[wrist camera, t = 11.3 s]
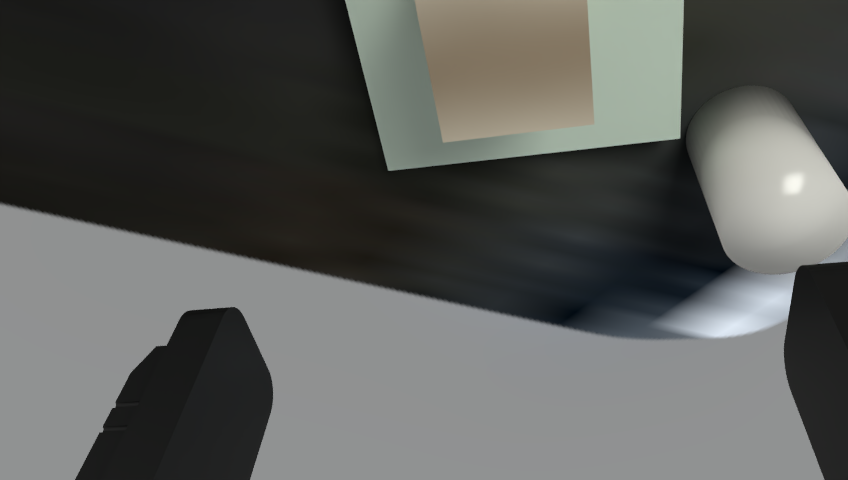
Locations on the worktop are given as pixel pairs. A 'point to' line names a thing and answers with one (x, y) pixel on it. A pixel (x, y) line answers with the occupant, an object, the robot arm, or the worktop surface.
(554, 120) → the ash block
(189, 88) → the worktop surface
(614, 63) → the cutting board
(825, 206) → the ceramic jar
